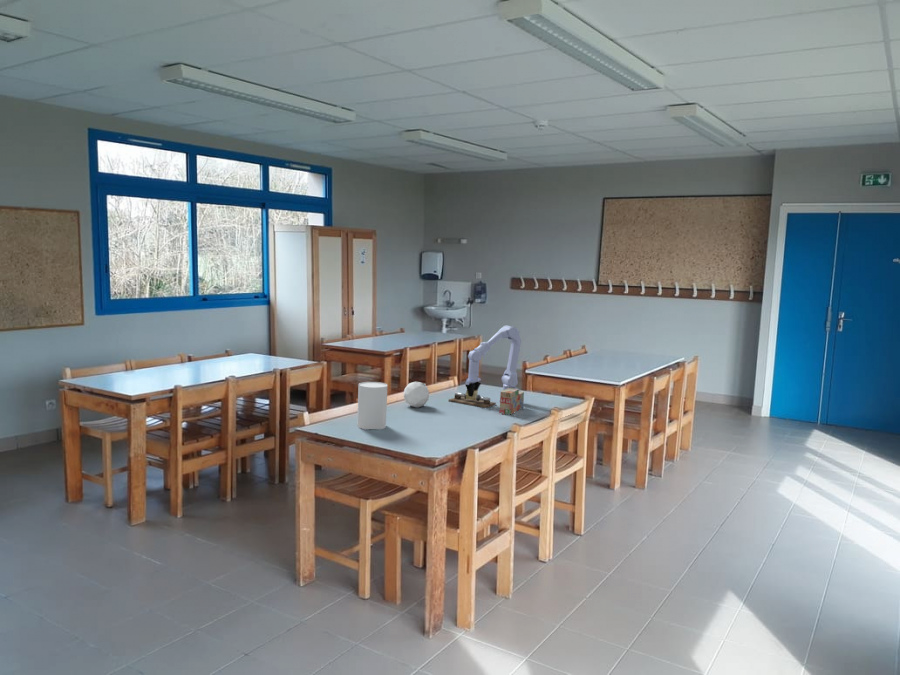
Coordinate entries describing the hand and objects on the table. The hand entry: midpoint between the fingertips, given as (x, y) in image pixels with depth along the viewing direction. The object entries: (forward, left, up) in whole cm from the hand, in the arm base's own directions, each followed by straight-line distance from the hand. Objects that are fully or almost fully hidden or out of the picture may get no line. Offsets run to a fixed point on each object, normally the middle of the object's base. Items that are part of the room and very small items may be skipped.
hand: (472, 395), depth 378 cm
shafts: (0, 0, -2) cm, 2 cm away
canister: (+10, +79, -4) cm, 80 cm away
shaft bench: (0, 0, -4) cm, 4 cm away
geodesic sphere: (+18, +30, -4) cm, 35 cm away
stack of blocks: (-26, +1, -5) cm, 26 cm away
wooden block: (0, 0, -2) cm, 2 cm away
